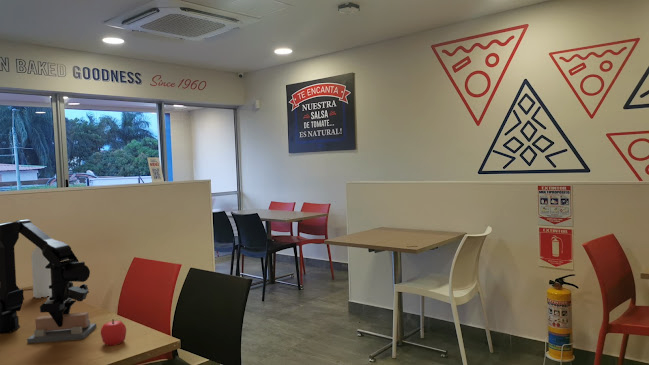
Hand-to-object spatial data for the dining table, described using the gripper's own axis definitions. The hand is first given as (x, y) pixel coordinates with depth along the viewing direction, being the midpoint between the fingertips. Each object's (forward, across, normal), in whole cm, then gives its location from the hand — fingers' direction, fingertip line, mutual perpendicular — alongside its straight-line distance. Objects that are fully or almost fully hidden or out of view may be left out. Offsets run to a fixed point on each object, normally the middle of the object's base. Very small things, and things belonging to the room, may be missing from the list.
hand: (62, 324), depth 165 cm
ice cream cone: (+4, +45, +19) cm, 49 cm away
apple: (+4, -12, -21) cm, 24 cm away
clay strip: (+1, 0, 0) cm, 1 cm away
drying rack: (+4, 0, 0) cm, 4 cm away
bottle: (+4, +60, +34) cm, 69 cm away
